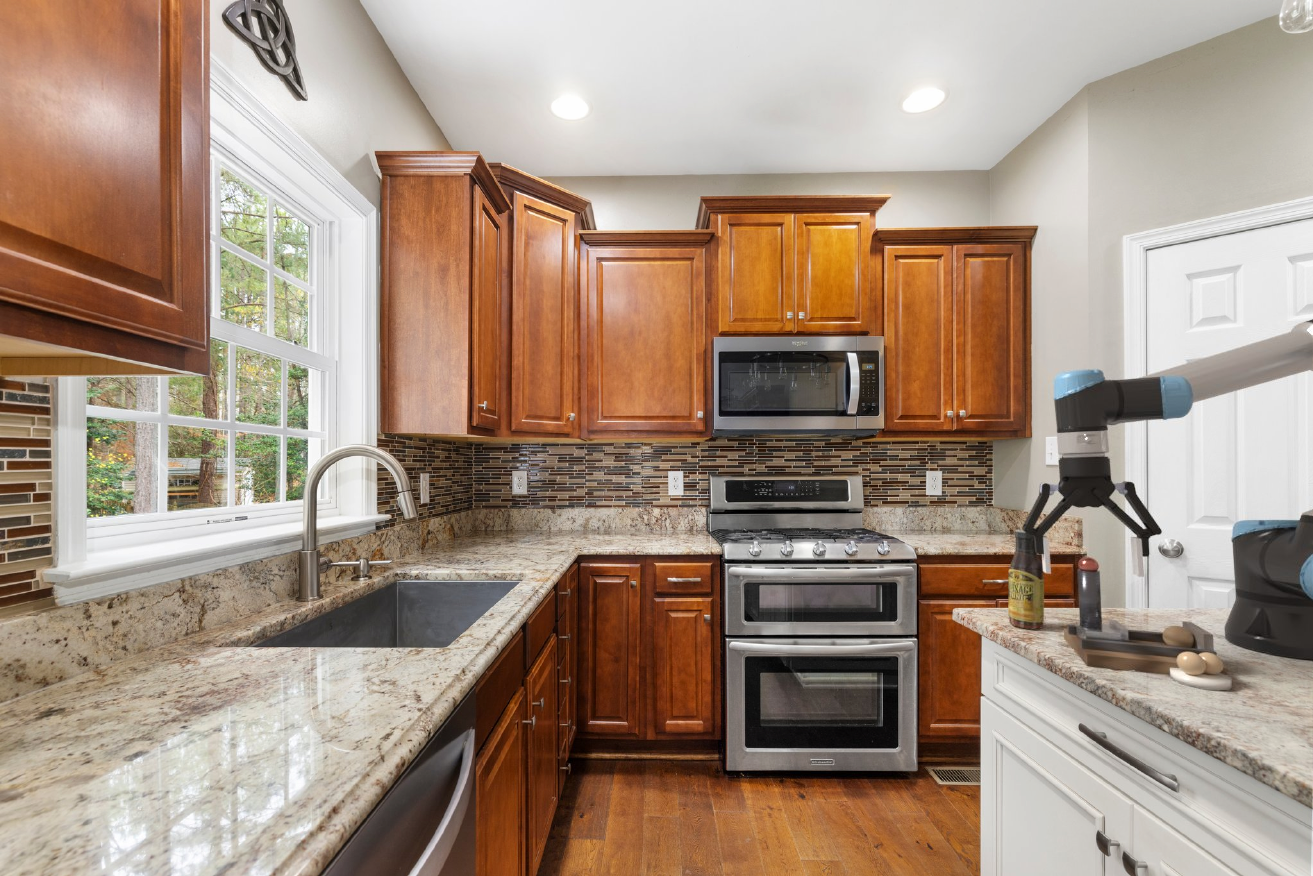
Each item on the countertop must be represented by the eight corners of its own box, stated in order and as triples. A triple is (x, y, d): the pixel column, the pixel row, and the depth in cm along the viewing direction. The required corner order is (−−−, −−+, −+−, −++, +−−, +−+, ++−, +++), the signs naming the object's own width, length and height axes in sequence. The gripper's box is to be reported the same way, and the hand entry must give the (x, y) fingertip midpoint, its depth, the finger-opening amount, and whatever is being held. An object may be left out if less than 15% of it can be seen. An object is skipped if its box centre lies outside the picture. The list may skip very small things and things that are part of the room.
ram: (1116, 637, 105) (1112, 555, 106) (1128, 648, 99) (1124, 561, 100) (1076, 634, 108) (1072, 554, 108) (1085, 644, 102) (1082, 559, 102)
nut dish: (1218, 677, 92) (1216, 647, 92) (1241, 693, 86) (1239, 662, 86) (1162, 671, 95) (1161, 642, 95) (1181, 686, 89) (1179, 656, 89)
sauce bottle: (1002, 624, 123) (998, 529, 123) (1021, 620, 125) (1017, 528, 126) (1033, 632, 117) (1029, 533, 117) (1052, 628, 119) (1048, 531, 120)
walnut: (1188, 647, 100) (1187, 624, 101) (1199, 654, 97) (1197, 630, 97) (1159, 645, 102) (1158, 622, 102) (1168, 652, 98) (1167, 628, 98)
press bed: (1182, 649, 105) (1181, 616, 106) (1227, 680, 91) (1225, 641, 91) (1064, 638, 112) (1062, 607, 113) (1087, 666, 98) (1085, 630, 98)
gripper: (1007, 458, 107) (1014, 574, 106) (1179, 452, 97) (1189, 581, 96) (1001, 458, 114) (1008, 567, 113) (1161, 453, 104) (1170, 572, 103)
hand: (1091, 574), depth 105 cm, fingers open, 13 cm apart
